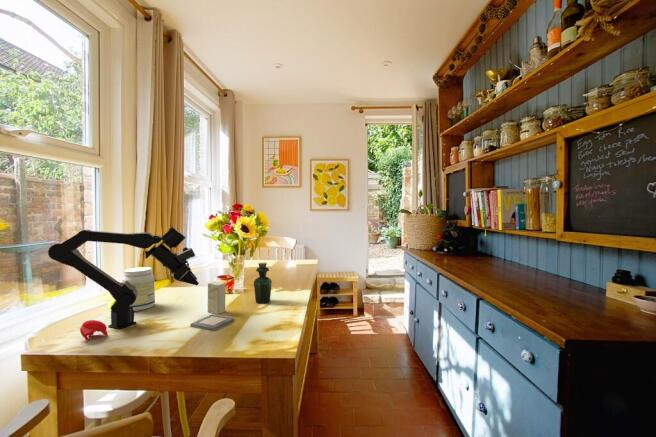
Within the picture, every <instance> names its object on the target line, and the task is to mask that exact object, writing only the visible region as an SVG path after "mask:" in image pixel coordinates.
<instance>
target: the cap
mask: <svg viewBox="0 0 656 437" xmlns="http://www.w3.org/2000/svg"><path fill="white" fill-rule="evenodd" d="M107 329H108V328H107V325H106V324H105V323H104V322H103V321H100V320H98V319H97V320H96V319H90V320H89V319H88V320H86V321H84V322H83V323H82V324H81V326H80V328H79V331H80V335H81V336H82V338H83V339H84V340H85V341H86V342H90V338H89V337H92V336H94V335H95V334H94V333H95V332H99V333H102V335H103V336H106V337H107V336H108V334H109V333H108V332H107Z"/></svg>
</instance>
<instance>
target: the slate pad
mask: <svg viewBox="0 0 656 437" xmlns="http://www.w3.org/2000/svg"><path fill="white" fill-rule="evenodd" d="M234 321H235V317H230V316H225V315H220V314H214V313H211V314H210V315H208V316H205V317H203V318H201V319H198V320H196V321H194V322H192V323H189V324H190V325H189V326H190V328H191V327H192V328H196V329H202V330H206V331H207V330H208V331H213V332H215V331H216V330H219V329H220V328H222V327H225V326H226V325H228V324H230V323H232V322H234Z"/></svg>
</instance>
